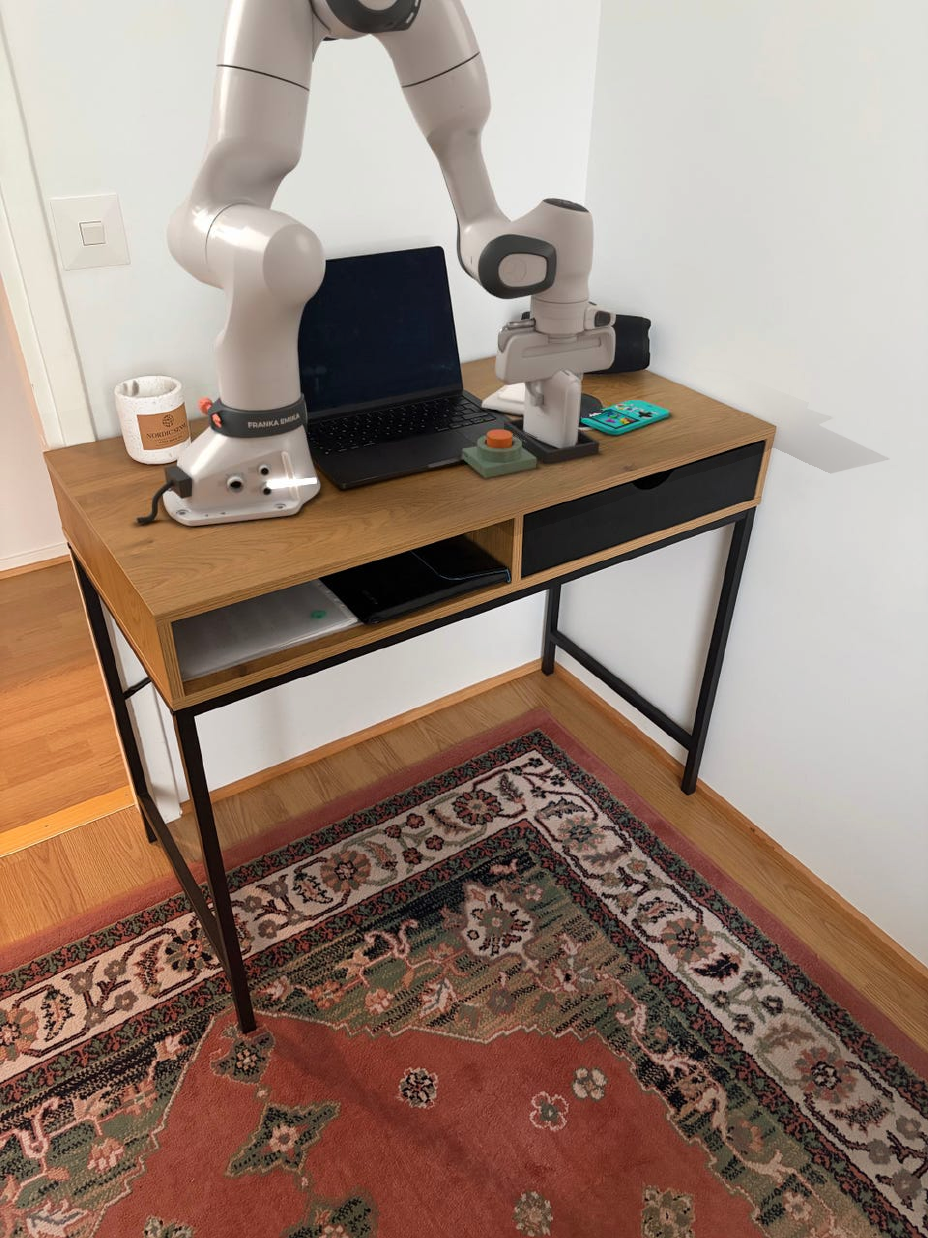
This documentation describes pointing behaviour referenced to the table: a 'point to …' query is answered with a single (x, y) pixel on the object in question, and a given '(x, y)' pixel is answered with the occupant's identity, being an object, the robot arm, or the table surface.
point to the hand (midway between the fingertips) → (552, 402)
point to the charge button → (499, 439)
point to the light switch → (507, 399)
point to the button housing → (498, 458)
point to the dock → (549, 452)
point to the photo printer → (555, 410)
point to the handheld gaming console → (626, 417)
